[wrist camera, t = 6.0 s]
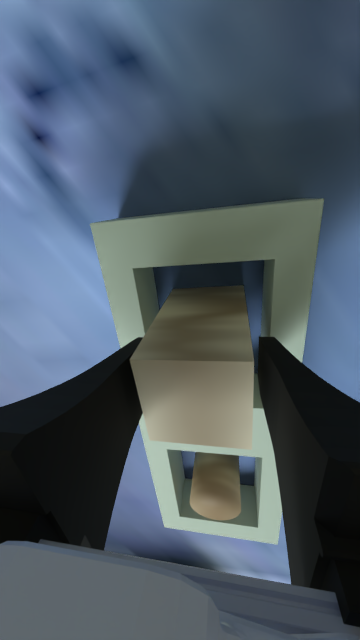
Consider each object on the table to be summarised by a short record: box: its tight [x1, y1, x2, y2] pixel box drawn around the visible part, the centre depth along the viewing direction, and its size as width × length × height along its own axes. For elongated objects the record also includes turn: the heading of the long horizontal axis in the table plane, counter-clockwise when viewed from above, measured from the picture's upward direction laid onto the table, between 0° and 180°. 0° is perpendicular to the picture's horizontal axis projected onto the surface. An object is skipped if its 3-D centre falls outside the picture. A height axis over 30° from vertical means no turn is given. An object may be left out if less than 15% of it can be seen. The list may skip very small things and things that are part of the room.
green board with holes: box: [90, 198, 324, 544], centre depth 16 cm, size 9×24×3 cm, turn 6°
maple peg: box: [130, 285, 254, 450], centre depth 12 cm, size 4×4×7 cm
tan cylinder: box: [190, 452, 241, 520], centre depth 18 cm, size 3×3×4 cm
